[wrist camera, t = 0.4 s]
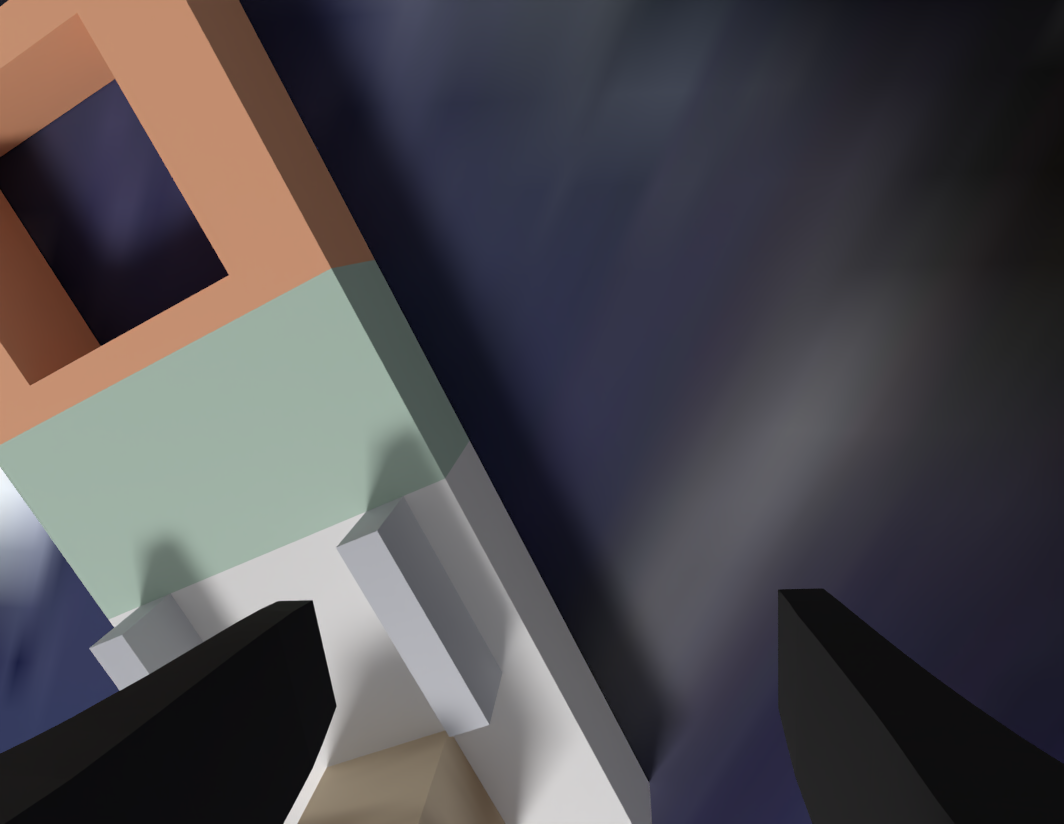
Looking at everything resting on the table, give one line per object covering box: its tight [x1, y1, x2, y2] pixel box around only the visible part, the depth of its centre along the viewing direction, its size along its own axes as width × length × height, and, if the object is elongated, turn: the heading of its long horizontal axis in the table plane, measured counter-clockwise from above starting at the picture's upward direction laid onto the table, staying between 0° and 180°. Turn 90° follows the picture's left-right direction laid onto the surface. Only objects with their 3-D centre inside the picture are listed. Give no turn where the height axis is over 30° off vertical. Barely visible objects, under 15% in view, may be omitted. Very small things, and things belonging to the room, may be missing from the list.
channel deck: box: [0, 0, 652, 824], centre depth 19 cm, size 28×12×5 cm, turn 26°
